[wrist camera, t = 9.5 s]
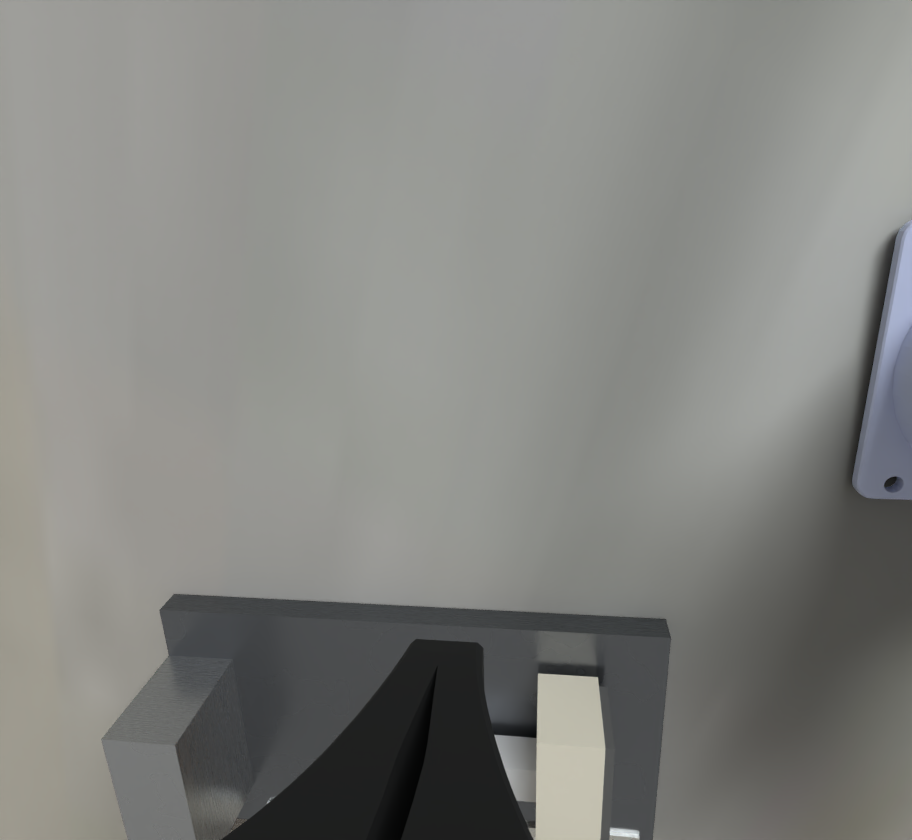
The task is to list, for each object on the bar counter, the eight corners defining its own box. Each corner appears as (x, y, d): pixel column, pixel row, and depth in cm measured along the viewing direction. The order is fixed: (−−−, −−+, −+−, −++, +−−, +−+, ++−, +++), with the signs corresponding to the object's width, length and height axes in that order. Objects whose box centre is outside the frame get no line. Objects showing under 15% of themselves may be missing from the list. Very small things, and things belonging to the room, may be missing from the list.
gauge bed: (665, 619, 22) (697, 732, 18) (647, 834, 26) (669, 977, 21) (174, 594, 25) (87, 688, 20) (214, 794, 28) (147, 915, 23)
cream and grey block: (607, 677, 22) (616, 749, 19) (598, 832, 24) (605, 915, 21) (422, 666, 23) (404, 732, 20) (430, 815, 25) (416, 895, 22)
